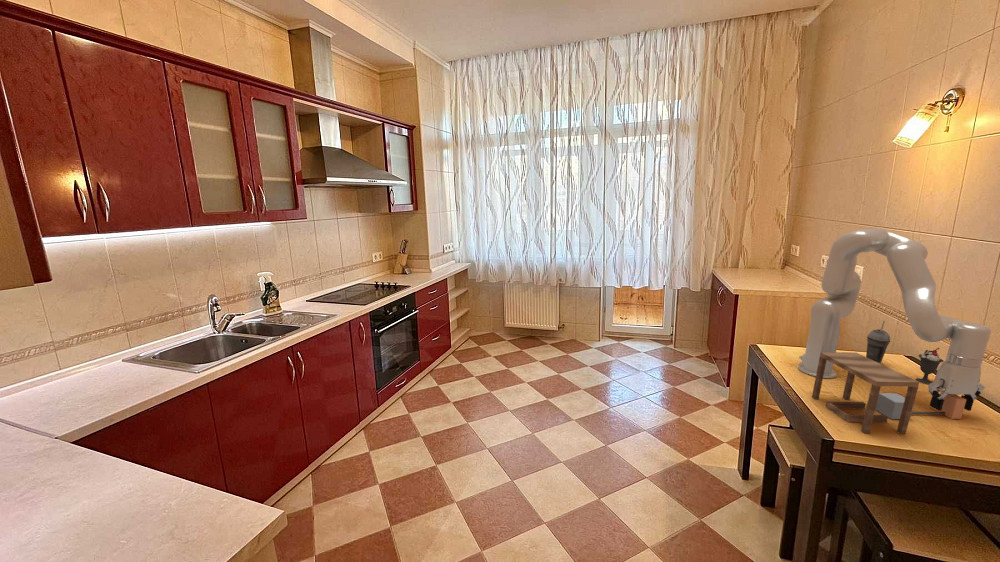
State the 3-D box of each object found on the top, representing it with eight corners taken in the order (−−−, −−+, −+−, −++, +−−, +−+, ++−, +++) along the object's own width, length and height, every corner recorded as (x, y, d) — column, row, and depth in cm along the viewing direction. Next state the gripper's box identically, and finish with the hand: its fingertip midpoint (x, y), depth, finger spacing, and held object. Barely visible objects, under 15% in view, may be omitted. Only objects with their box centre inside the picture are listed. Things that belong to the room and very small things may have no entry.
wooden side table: (811, 397, 145) (820, 352, 141) (846, 397, 145) (856, 352, 141) (864, 433, 123) (876, 381, 120) (905, 434, 123) (919, 382, 119)
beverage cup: (880, 362, 174) (890, 318, 170) (887, 369, 168) (898, 323, 163) (858, 359, 177) (868, 316, 173) (865, 365, 171) (875, 321, 166)
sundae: (933, 387, 152) (943, 350, 149) (909, 380, 158) (918, 344, 155) (940, 383, 155) (949, 347, 152) (916, 376, 161) (925, 341, 158)
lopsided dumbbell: (874, 409, 137) (879, 390, 135) (943, 409, 137) (948, 391, 135) (891, 419, 131) (896, 399, 129) (962, 419, 131) (968, 400, 129)
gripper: (977, 355, 133) (963, 402, 137) (924, 355, 133) (912, 402, 137) (1004, 365, 125) (989, 414, 129) (948, 365, 126) (935, 414, 130)
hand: (949, 408), depth 133 cm, fingers open, 9 cm apart
